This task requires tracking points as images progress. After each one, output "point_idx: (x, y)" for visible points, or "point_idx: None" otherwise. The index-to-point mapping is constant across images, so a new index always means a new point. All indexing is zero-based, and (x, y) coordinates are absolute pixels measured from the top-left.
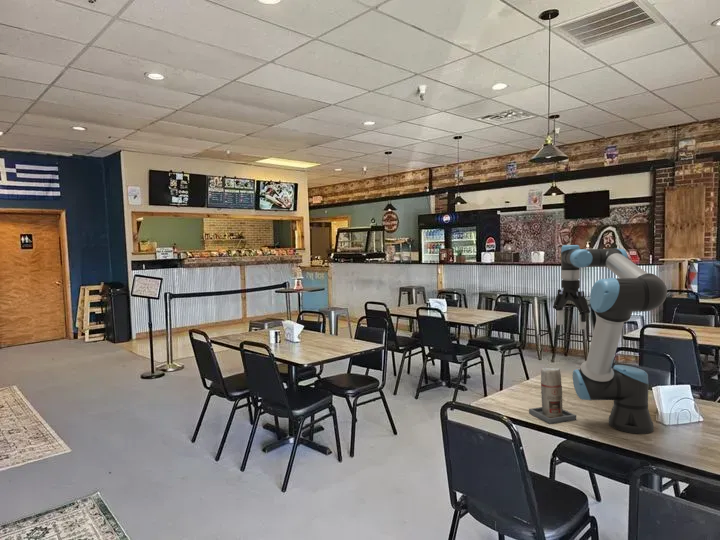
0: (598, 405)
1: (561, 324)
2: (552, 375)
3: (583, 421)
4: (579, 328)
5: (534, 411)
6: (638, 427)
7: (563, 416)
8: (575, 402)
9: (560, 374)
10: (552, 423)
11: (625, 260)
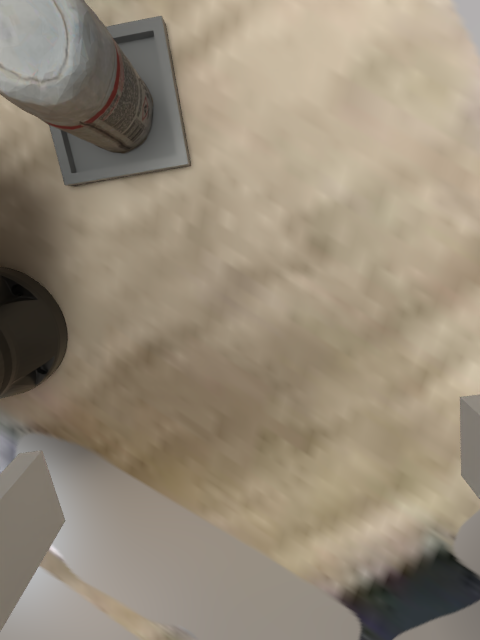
0: (210, 357)
1: (463, 451)
2: None
3: (59, 204)
4: (21, 459)
5: (125, 24)
6: None
7: None
8: (257, 298)
9: (4, 96)
10: None
11: None
